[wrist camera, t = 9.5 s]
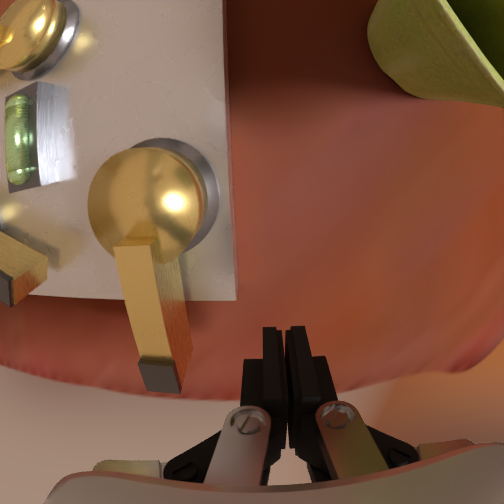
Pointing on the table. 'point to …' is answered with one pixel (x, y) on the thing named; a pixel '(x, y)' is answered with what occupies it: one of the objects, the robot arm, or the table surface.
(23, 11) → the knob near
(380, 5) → the plant pot
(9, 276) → the knob
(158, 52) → the base plate
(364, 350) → the table surface
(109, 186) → the knob
